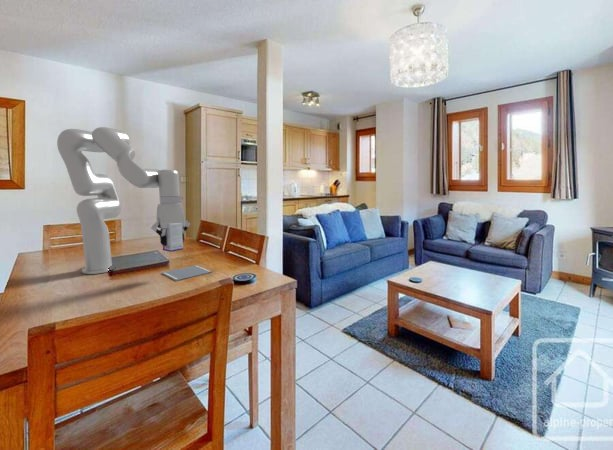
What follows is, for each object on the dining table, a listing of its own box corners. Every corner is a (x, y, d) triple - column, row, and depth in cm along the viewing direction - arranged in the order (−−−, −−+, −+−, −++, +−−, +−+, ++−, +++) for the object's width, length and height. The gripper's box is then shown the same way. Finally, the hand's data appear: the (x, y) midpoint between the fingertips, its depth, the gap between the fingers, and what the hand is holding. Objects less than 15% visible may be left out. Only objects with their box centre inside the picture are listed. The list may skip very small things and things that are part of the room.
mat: (161, 273, 130) (161, 272, 130) (196, 265, 142) (196, 264, 141) (176, 281, 121) (175, 280, 120) (212, 272, 132) (212, 271, 132)
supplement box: (183, 249, 126) (182, 222, 124) (170, 252, 121) (169, 224, 120) (175, 247, 129) (173, 221, 128) (162, 250, 124) (160, 222, 123)
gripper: (186, 199, 131) (188, 239, 134) (143, 201, 118) (147, 245, 121) (194, 200, 126) (196, 242, 129) (151, 202, 113) (154, 248, 116)
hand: (172, 243), depth 125 cm, fingers closed on supplement box, 6 cm apart
